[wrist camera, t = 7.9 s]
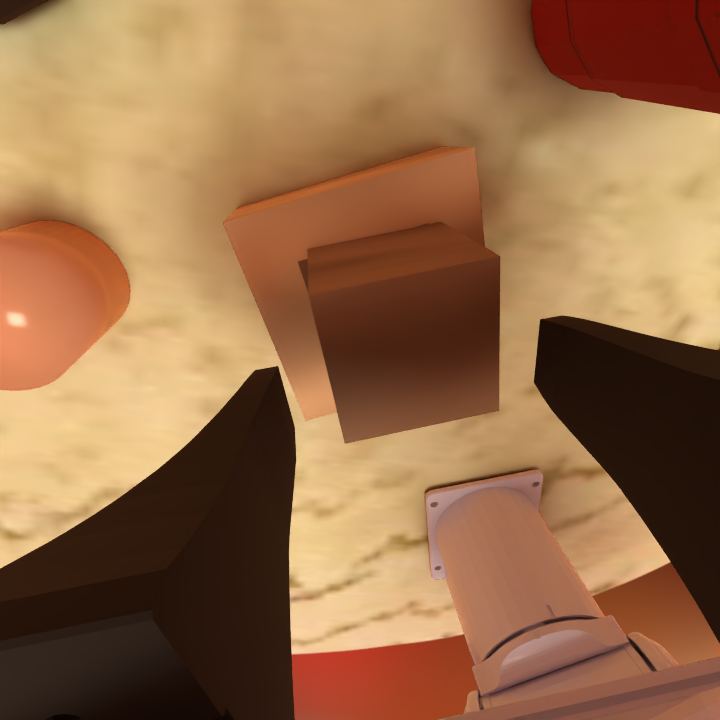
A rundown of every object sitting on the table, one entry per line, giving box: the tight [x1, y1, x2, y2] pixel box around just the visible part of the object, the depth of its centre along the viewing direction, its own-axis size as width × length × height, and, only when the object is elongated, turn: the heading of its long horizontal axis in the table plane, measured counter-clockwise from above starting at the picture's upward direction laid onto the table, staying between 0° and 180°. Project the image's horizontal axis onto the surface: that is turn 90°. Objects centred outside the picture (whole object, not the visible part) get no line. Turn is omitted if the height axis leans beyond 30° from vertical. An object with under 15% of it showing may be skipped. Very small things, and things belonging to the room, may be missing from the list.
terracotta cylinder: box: [0, 221, 130, 391], centre depth 15 cm, size 5×5×5 cm
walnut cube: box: [307, 222, 500, 443], centre depth 14 cm, size 5×5×5 cm
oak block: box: [223, 147, 485, 421], centre depth 18 cm, size 9×9×4 cm
